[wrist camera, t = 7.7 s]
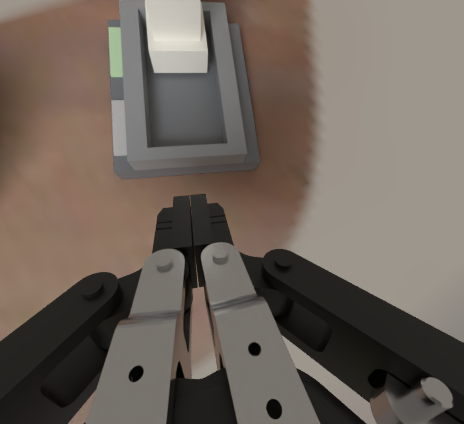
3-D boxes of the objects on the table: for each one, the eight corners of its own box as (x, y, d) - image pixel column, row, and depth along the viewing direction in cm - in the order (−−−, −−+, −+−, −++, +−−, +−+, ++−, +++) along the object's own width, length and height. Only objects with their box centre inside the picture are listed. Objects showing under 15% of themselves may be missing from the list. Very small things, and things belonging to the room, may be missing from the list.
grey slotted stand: (121, 179, 16) (104, 162, 13) (115, 38, 18) (98, -4, 15) (255, 169, 18) (266, 152, 15) (235, 40, 20) (241, 3, 17)
